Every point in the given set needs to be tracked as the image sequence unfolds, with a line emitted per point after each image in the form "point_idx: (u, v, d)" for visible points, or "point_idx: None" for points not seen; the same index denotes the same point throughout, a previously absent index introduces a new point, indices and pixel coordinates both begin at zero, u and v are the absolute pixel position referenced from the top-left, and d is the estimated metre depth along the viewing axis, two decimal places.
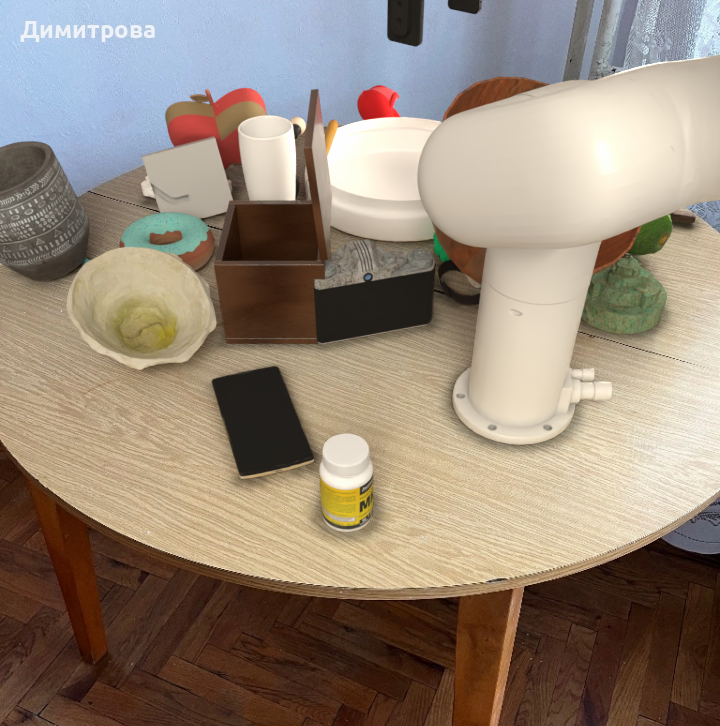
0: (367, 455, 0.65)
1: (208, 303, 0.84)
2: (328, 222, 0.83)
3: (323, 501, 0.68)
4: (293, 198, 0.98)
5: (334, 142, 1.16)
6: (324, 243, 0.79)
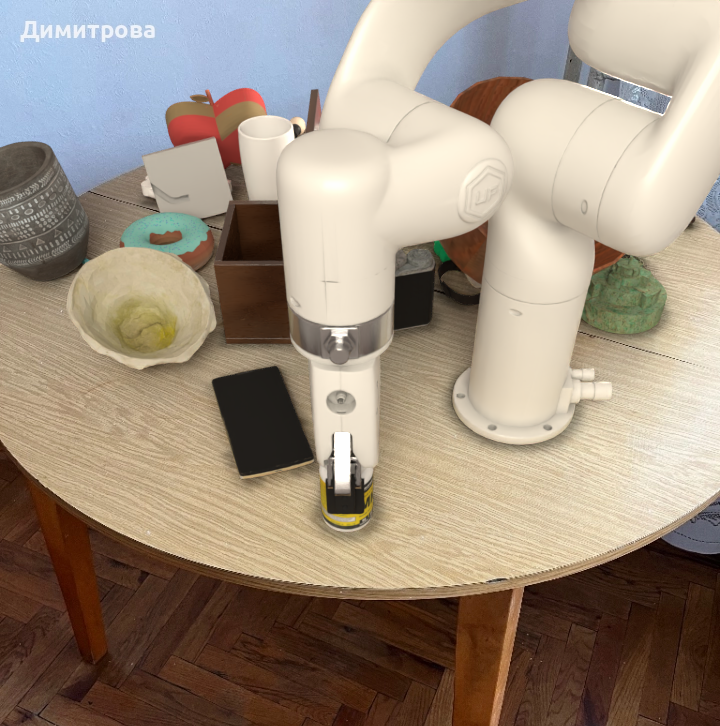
0: None
1: (208, 303, 0.84)
2: None
3: (323, 501, 0.68)
4: None
5: None
6: None
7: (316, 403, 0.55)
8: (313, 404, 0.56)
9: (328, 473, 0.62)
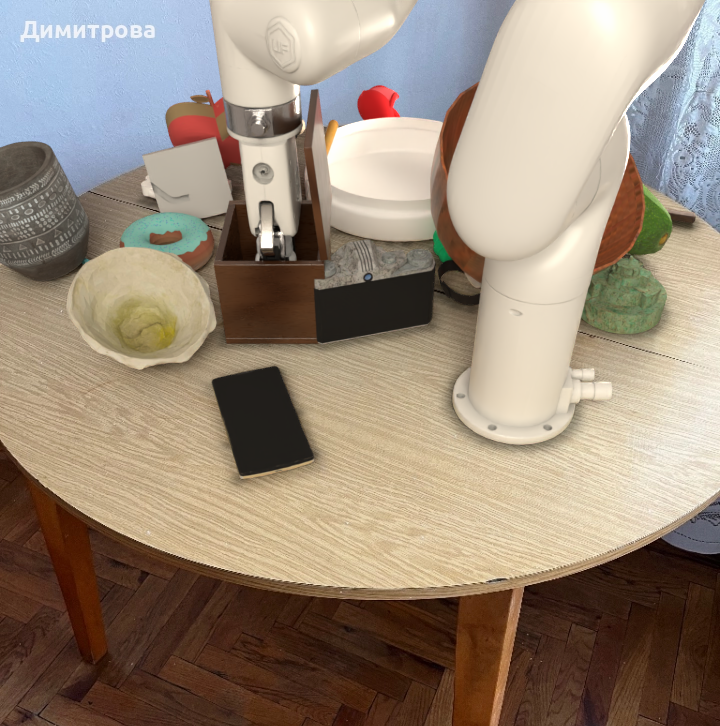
0: (290, 243, 0.86)
1: (208, 303, 0.84)
2: (328, 222, 0.83)
3: None
4: None
5: (334, 142, 1.16)
6: (324, 243, 0.79)
7: (245, 175, 0.76)
8: (243, 177, 0.77)
9: (260, 246, 0.82)
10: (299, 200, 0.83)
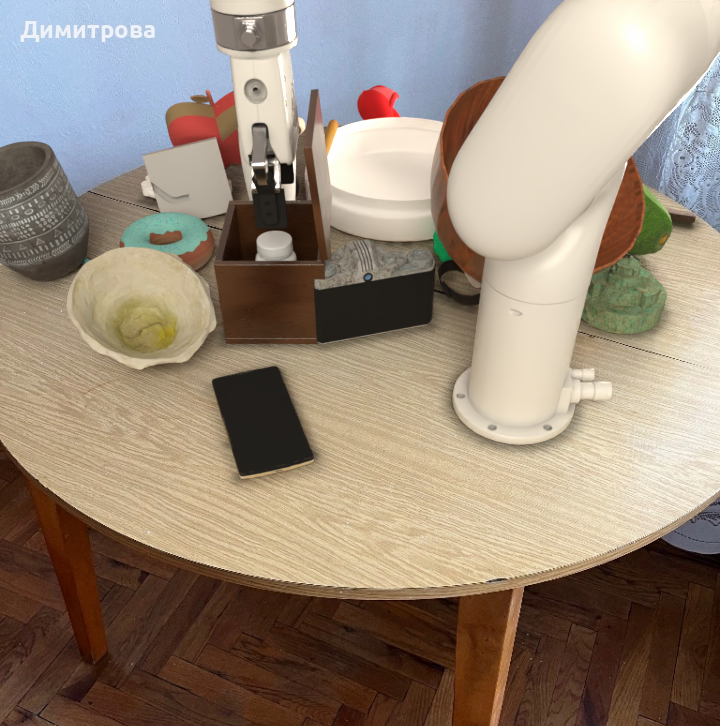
0: (290, 243, 0.86)
1: (208, 303, 0.84)
2: (328, 222, 0.83)
3: None
4: (293, 198, 0.98)
5: (334, 142, 1.16)
6: (324, 243, 0.79)
7: (236, 94, 0.70)
8: (234, 97, 0.71)
9: (252, 174, 0.75)
10: (296, 128, 0.78)
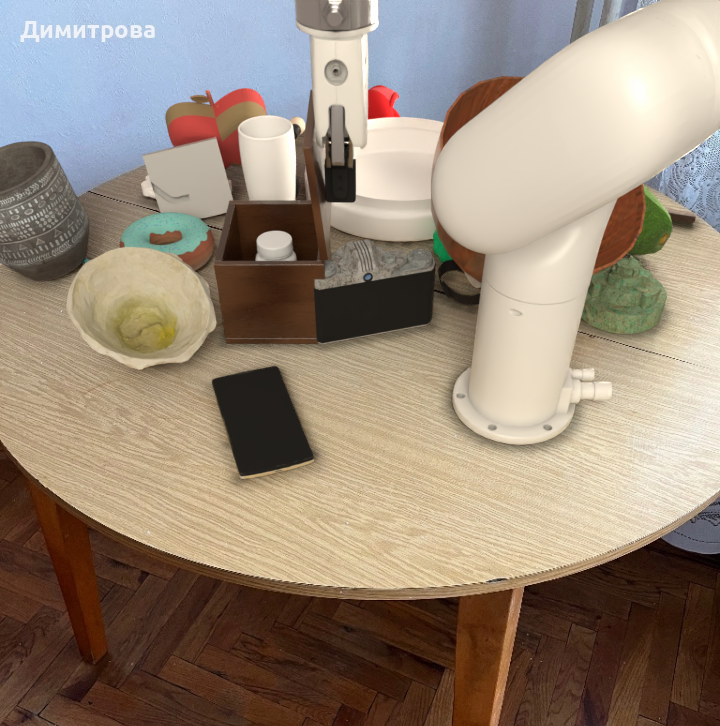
0: (290, 243, 0.86)
1: (208, 303, 0.84)
2: (328, 222, 0.83)
3: None
4: (293, 198, 0.98)
5: None
6: (324, 243, 0.79)
7: (316, 75, 0.69)
8: (313, 77, 0.70)
9: (326, 155, 0.77)
10: None
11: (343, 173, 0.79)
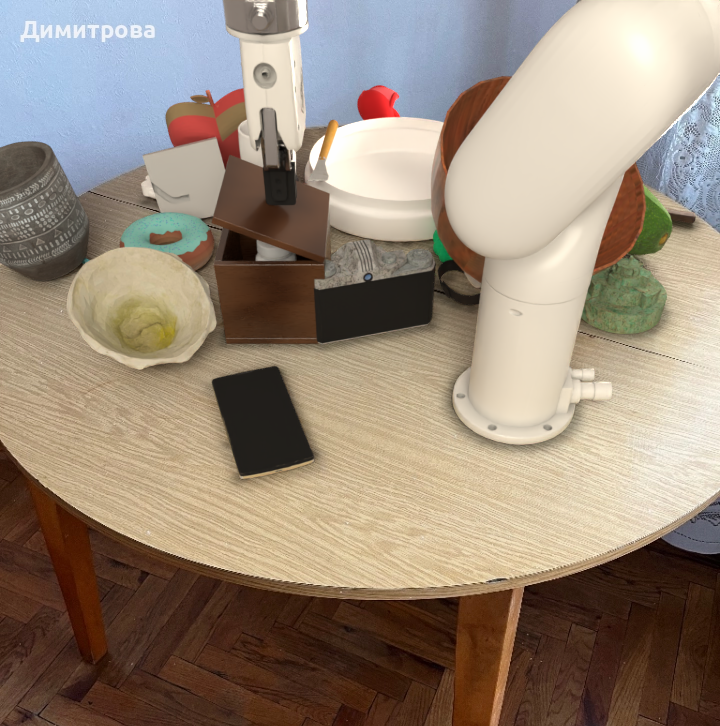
0: None
1: (208, 303, 0.84)
2: (317, 225, 0.84)
3: None
4: None
5: (334, 142, 1.16)
6: (307, 251, 0.80)
7: (245, 78, 0.70)
8: (243, 81, 0.70)
9: (263, 158, 0.78)
10: (303, 114, 0.77)
11: (281, 176, 0.79)
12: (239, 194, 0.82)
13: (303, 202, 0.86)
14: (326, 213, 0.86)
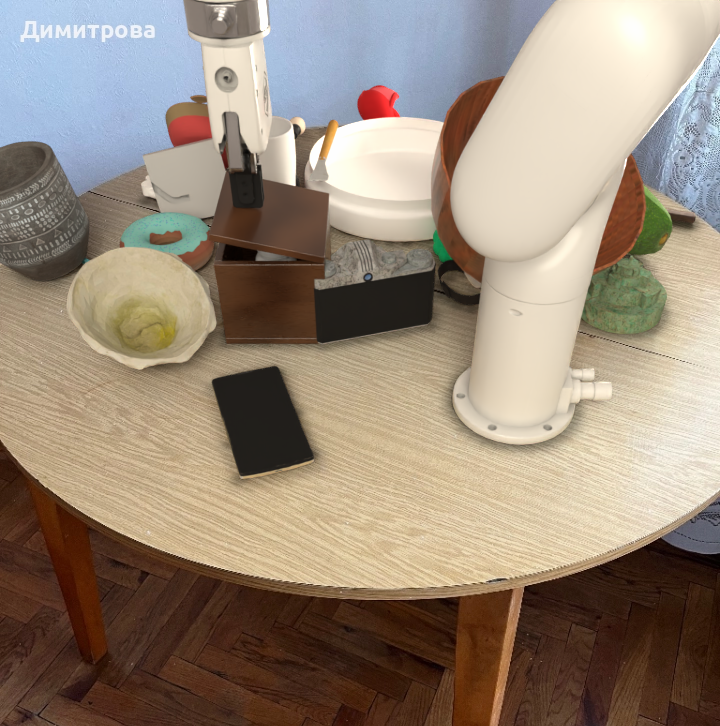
0: None
1: (208, 303, 0.84)
2: (316, 227, 0.84)
3: None
4: None
5: (334, 142, 1.16)
6: (305, 254, 0.80)
7: (207, 82, 0.70)
8: (205, 84, 0.70)
9: (228, 161, 0.78)
10: (268, 117, 0.77)
11: (247, 179, 0.80)
12: (235, 208, 0.83)
13: (301, 206, 0.86)
14: (325, 213, 0.86)
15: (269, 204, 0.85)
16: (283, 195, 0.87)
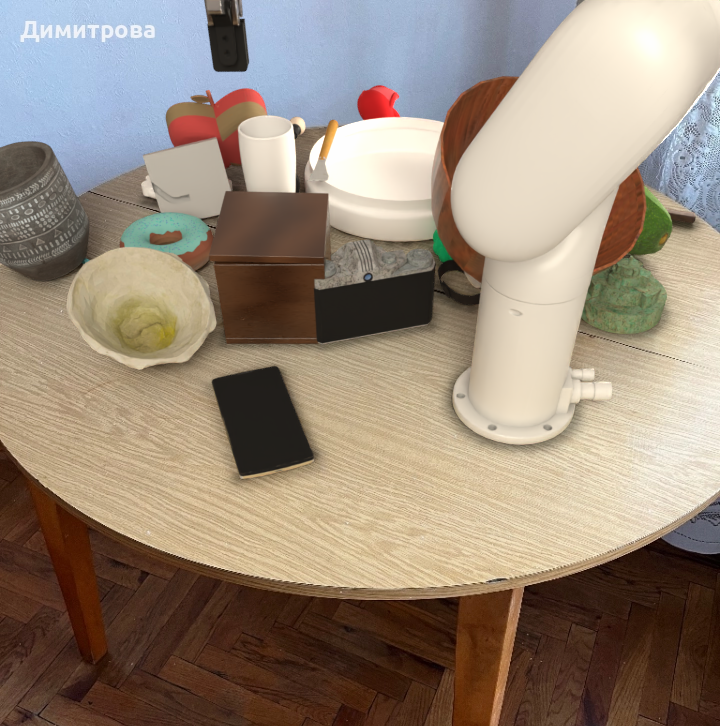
0: None
1: (208, 303, 0.84)
2: (315, 229, 0.84)
3: None
4: None
5: (334, 142, 1.16)
6: (305, 257, 0.80)
7: None
8: None
9: (206, 8, 0.68)
10: None
11: (228, 32, 0.70)
12: (235, 225, 0.84)
13: (300, 211, 0.86)
14: (325, 213, 0.86)
15: (268, 215, 0.86)
16: (282, 204, 0.87)
